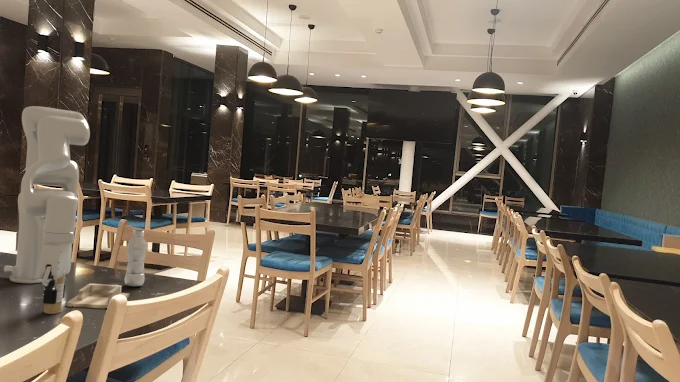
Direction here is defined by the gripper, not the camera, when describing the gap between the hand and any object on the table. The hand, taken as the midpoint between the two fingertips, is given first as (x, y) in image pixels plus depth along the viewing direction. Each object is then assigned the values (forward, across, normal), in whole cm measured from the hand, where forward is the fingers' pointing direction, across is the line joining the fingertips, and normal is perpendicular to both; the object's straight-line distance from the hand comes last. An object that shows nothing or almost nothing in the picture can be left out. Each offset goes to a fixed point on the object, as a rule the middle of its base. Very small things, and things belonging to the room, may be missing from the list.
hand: (53, 300), depth 136 cm
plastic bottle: (+4, -33, +13) cm, 36 cm away
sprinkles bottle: (+4, 0, 0) cm, 4 cm away
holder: (+3, -13, +8) cm, 16 cm away
